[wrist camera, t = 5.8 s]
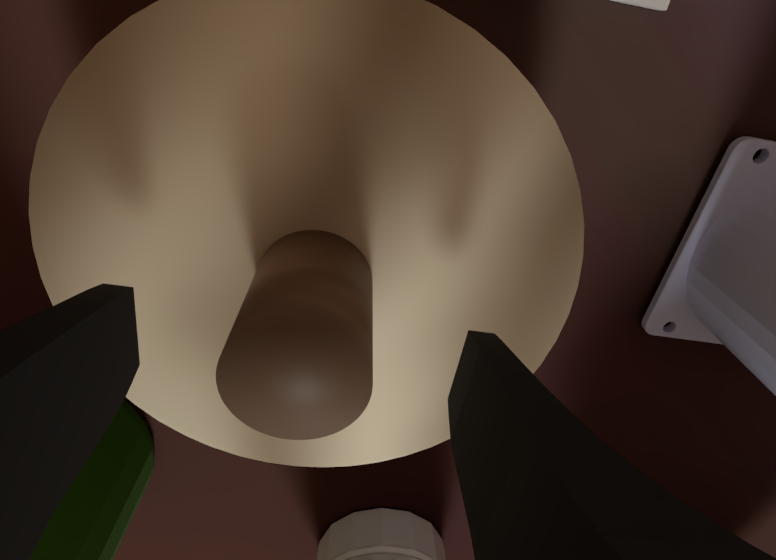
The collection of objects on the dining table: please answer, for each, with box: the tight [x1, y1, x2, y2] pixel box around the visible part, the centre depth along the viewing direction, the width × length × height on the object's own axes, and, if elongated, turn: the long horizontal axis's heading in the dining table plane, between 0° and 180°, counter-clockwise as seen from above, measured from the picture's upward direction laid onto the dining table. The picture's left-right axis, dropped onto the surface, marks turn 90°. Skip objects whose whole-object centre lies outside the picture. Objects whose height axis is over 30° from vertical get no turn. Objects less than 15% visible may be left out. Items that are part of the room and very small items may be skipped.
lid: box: [29, 0, 584, 467], centre depth 12 cm, size 14×14×5 cm
